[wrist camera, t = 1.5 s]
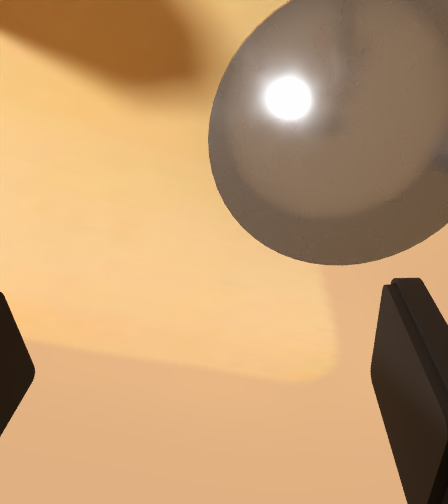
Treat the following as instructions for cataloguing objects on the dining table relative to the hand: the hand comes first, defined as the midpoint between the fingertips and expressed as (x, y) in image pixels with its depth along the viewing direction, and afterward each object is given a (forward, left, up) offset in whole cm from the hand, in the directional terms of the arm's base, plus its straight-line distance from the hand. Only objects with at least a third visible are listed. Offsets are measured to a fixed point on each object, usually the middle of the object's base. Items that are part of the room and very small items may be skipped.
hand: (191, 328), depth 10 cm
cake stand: (-5, +5, -25) cm, 26 cm away
